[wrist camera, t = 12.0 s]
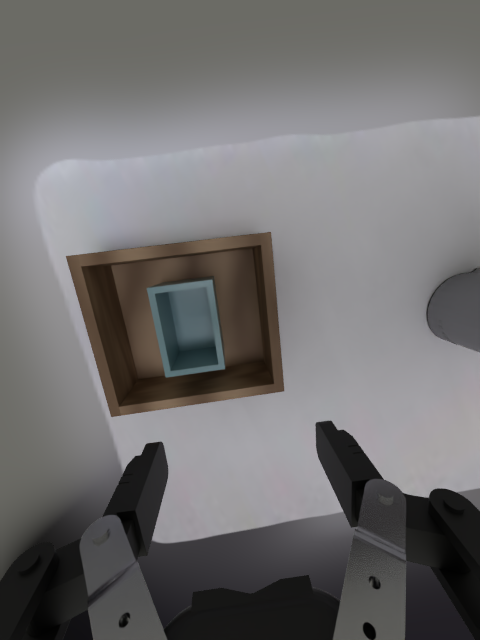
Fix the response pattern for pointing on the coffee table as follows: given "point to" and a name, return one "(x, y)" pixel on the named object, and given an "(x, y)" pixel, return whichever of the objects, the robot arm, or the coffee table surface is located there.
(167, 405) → the walnut crate
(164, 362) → the teal crate
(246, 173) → the coffee table surface
